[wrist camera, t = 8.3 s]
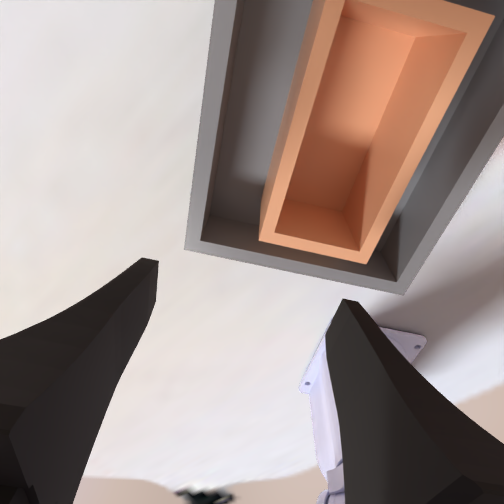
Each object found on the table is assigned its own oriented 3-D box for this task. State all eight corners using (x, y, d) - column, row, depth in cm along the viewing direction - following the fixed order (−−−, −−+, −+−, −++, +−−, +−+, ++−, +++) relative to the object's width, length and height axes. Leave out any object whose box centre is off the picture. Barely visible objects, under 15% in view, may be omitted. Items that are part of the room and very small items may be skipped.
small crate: (345, 218, 20) (366, 264, 16) (260, 198, 19) (258, 240, 15) (429, 25, 14) (495, 15, 10) (315, -8, 14) (334, -33, 10)
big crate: (383, 257, 22) (403, 295, 19) (197, 217, 21) (184, 249, 18) (530, -17, 14) (611, -37, 11) (243, -103, 13) (233, -155, 10)
